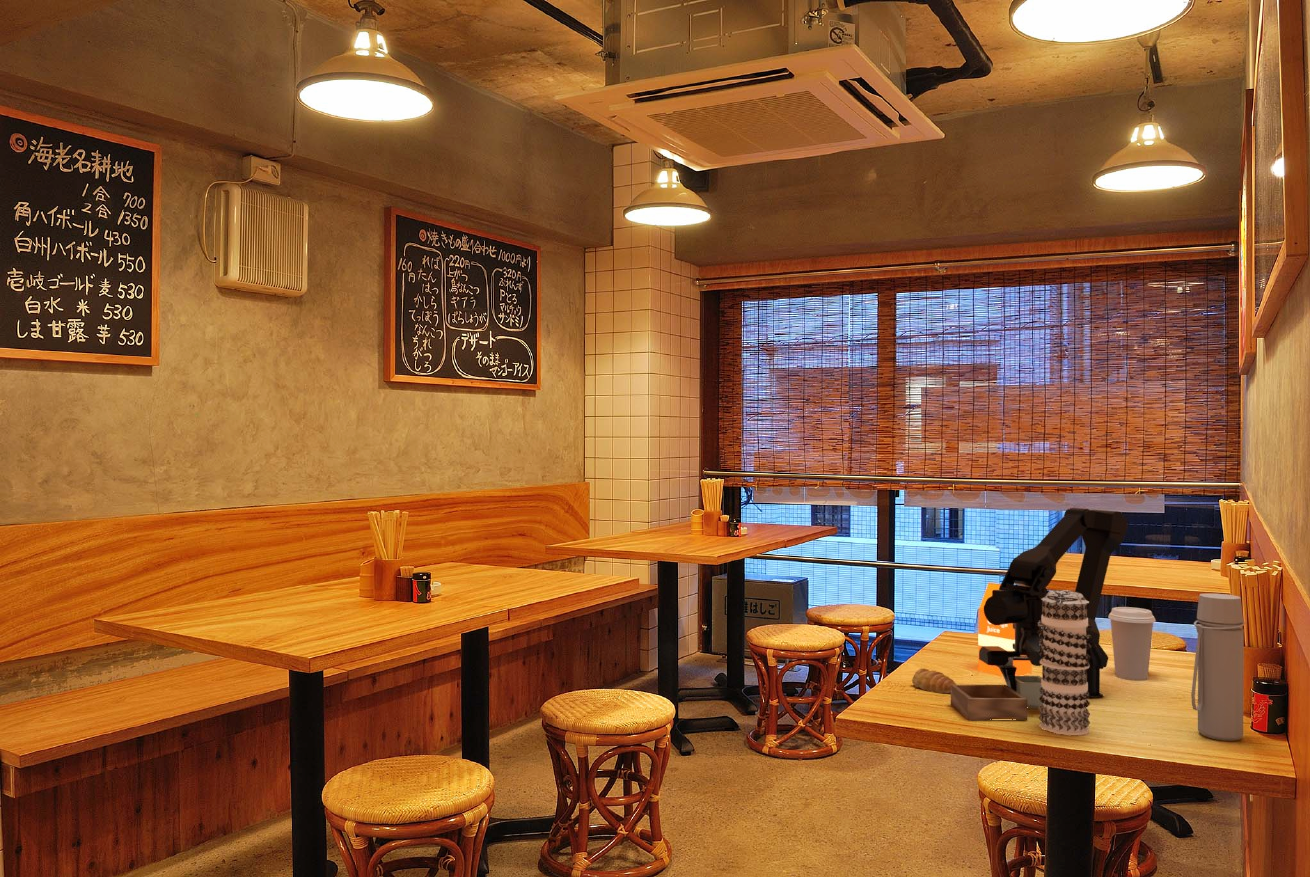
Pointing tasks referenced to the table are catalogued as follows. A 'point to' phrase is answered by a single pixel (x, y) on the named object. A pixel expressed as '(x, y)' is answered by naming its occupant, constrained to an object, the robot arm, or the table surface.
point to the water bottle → (1219, 667)
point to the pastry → (932, 681)
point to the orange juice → (997, 638)
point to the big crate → (988, 702)
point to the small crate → (1029, 689)
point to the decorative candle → (1064, 663)
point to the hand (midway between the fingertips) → (1029, 698)
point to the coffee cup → (1131, 641)
